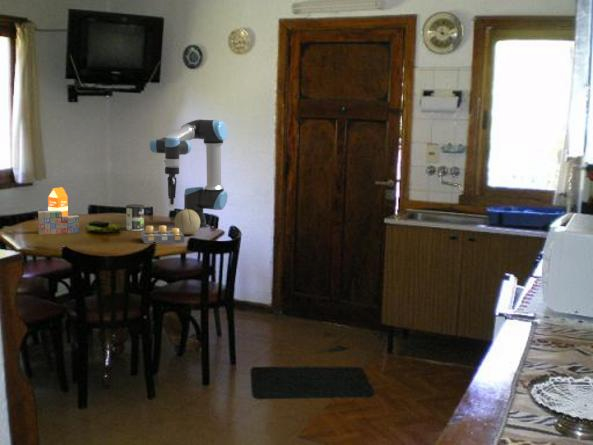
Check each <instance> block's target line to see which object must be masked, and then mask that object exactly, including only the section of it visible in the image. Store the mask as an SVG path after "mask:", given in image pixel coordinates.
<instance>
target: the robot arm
mask: <svg viewBox="0 0 593 445" xmlns="http://www.w3.org/2000/svg"><path fill="white" fill-rule="evenodd" d="M227 134H228V130H227V126H226V124H225V122H224V121H222V120H217V119H195V120H191V121H189V122H187V123H185V124H183V125H181V127H180V128H179V129H176V130H175V131H172V133H169V134H167V135H166V136H165V135H164V137H162V138H160V139H158V138H153V139H151V140H150V142H149V150H150V152H151V153H154V154H164V155H165V156H164V158H165V159H164V166H165V167H164V173H165V174H164V175H168V176H167V196H168V198H167V199H168V211H175V198H176V190H177V177H176V175H179V174H180V155H181V156H182V155H184V156H185V155H187V154H189V153H190V152H191V150H192V145H191V143H190V142H189V141H191V140H197V139H198V140H203V144H205V148H206V151H205V152H206V157H205V158H206V185H205V187H204V186H195V187H194V186H192V187H186V188H185V189H184V194H183V199H184V200H183V202H184V205H183V206H184V208H186V209H189V210H193V211H195V212H196V213H197V214H198V216H199V218H200V227H203V226H206V225H207V219H206V217H205V214H204V209H206V210H215V211H222V210H223V209H224V208H225V207H226V206H227V204H228V203H227V202H228V196H229V195H228V192H227V191H225V190H224V188H225V187H224V186H223V185H222V155H221V154H222V153H221V152H222V145H223V143H224V141H226V139H227V136H228V135H227ZM184 208H183V210H185V209H184Z"/></svg>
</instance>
